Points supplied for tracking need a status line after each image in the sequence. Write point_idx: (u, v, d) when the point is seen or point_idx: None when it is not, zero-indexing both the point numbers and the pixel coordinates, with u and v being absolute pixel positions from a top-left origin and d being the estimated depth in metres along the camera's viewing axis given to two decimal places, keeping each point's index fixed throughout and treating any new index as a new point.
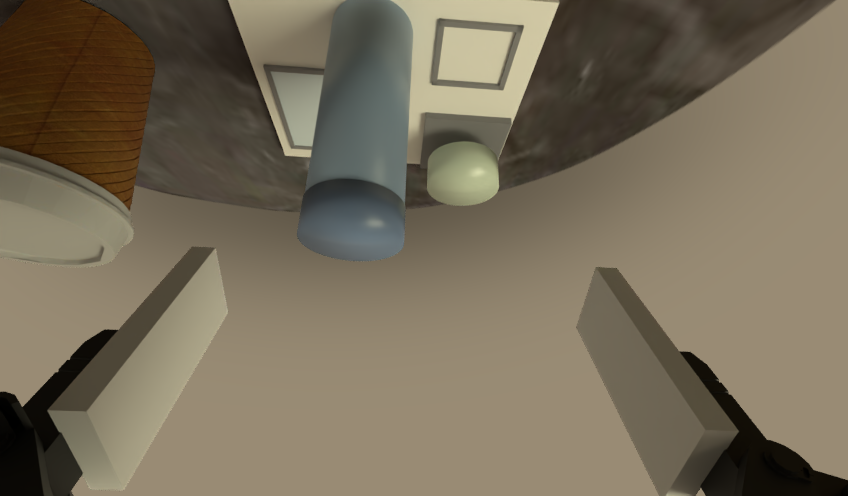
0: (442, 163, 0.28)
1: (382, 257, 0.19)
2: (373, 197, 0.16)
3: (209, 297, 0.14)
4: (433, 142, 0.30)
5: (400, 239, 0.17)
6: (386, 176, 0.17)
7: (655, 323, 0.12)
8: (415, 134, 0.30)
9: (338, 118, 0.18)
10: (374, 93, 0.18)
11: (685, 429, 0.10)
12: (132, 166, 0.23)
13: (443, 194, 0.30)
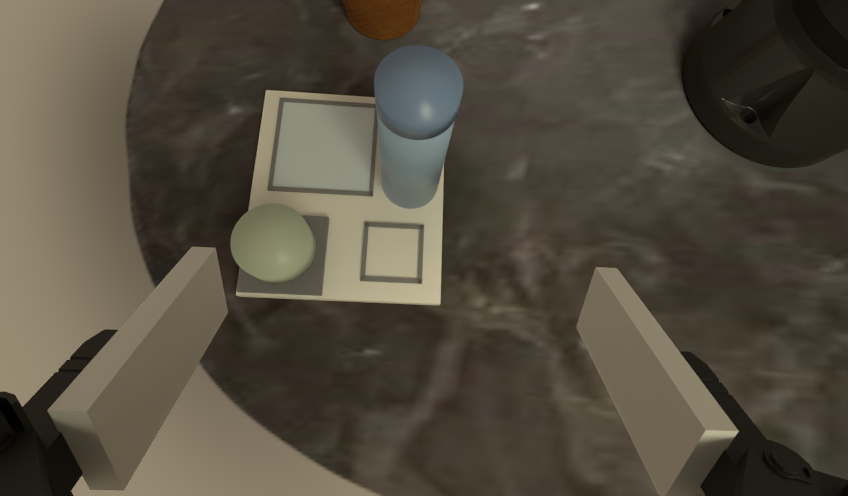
0: None
1: (385, 104, 0.20)
2: (456, 113, 0.22)
3: (209, 297, 0.14)
4: None
5: (425, 121, 0.20)
6: (446, 132, 0.23)
7: (655, 323, 0.12)
8: (297, 210, 0.31)
9: None
10: None
11: (685, 429, 0.10)
12: None
13: (257, 220, 0.27)
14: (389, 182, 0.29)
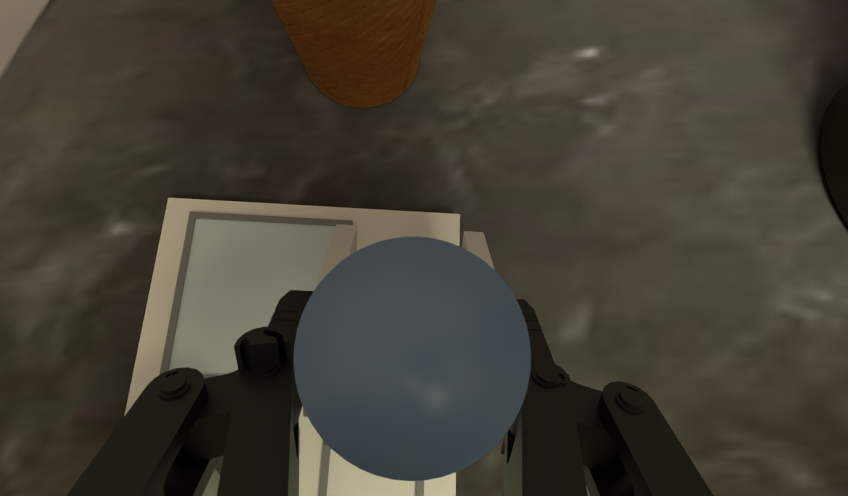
0: None
1: (323, 421, 0.07)
2: None
3: None
4: None
5: (432, 471, 0.07)
6: None
7: None
8: None
9: None
10: None
11: None
12: (316, 11, 0.16)
13: None
14: None
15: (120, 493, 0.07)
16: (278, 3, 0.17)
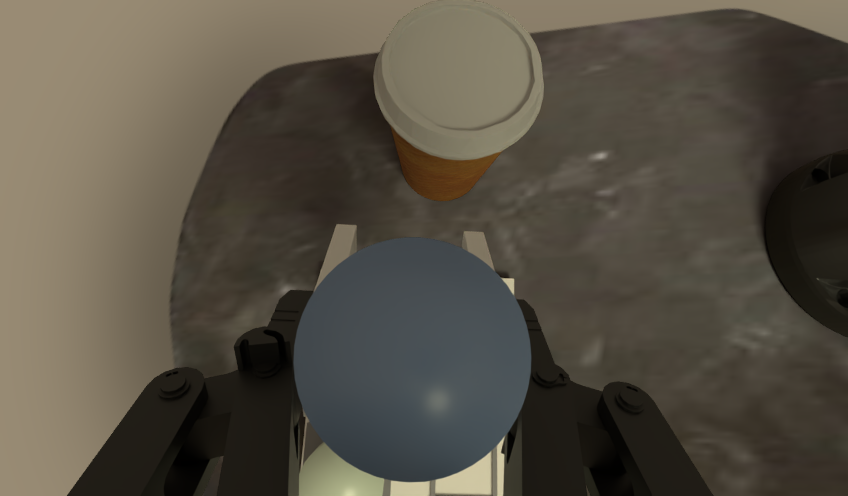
0: None
1: (323, 422, 0.07)
2: None
3: None
4: None
5: (432, 473, 0.07)
6: None
7: None
8: None
9: None
10: None
11: None
12: (436, 168, 0.26)
13: (324, 462, 0.24)
14: None
15: (120, 493, 0.07)
16: (408, 157, 0.27)
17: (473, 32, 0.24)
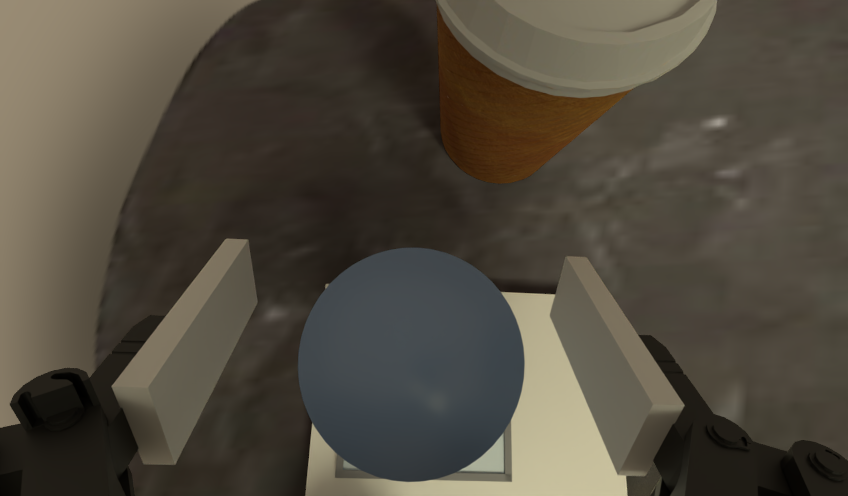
0: None
1: (327, 425, 0.08)
2: None
3: (243, 287, 0.15)
4: None
5: (430, 473, 0.08)
6: None
7: (617, 308, 0.13)
8: None
9: None
10: None
11: (636, 405, 0.10)
12: (519, 121, 0.16)
13: None
14: None
15: None
16: (468, 106, 0.17)
17: None
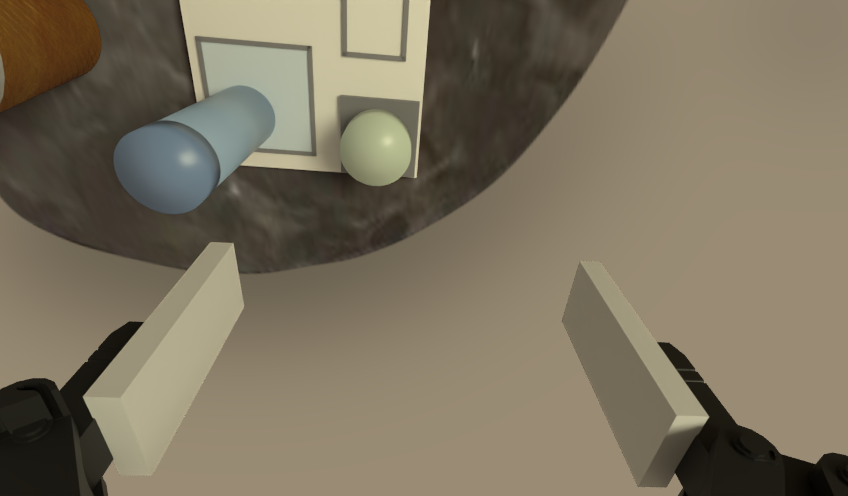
0: (352, 121, 0.28)
1: (193, 204, 0.22)
2: (182, 129, 0.21)
3: (227, 291, 0.14)
4: None
5: (202, 168, 0.21)
6: (202, 130, 0.22)
7: (634, 314, 0.13)
8: (334, 126, 0.32)
9: None
10: (216, 105, 0.25)
11: (658, 415, 0.10)
12: (31, 59, 0.23)
13: (357, 165, 0.29)
14: None
15: None
16: (35, 88, 0.25)
17: None
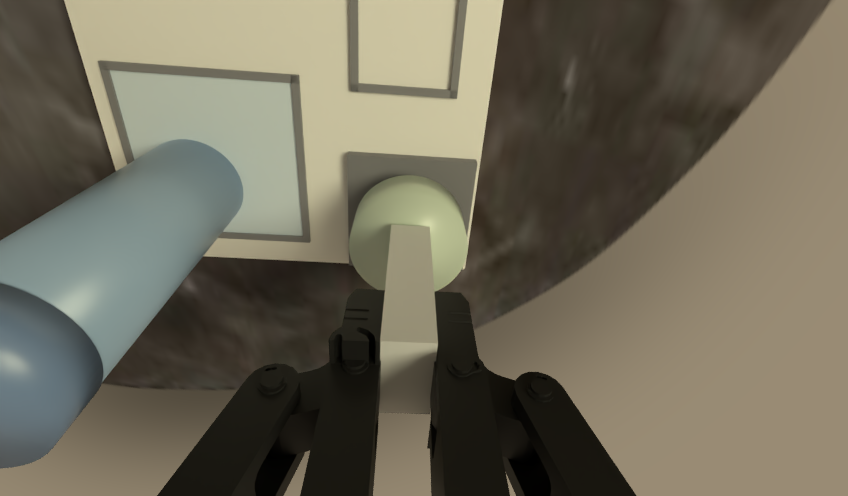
0: (371, 199, 0.17)
1: (35, 453, 0.10)
2: None
3: None
4: None
5: (38, 396, 0.09)
6: (56, 285, 0.10)
7: (430, 267, 0.14)
8: (337, 199, 0.20)
9: (35, 220, 0.12)
10: (116, 200, 0.13)
11: None
12: None
13: (378, 268, 0.18)
14: None
15: (218, 482, 0.08)
16: None
17: None
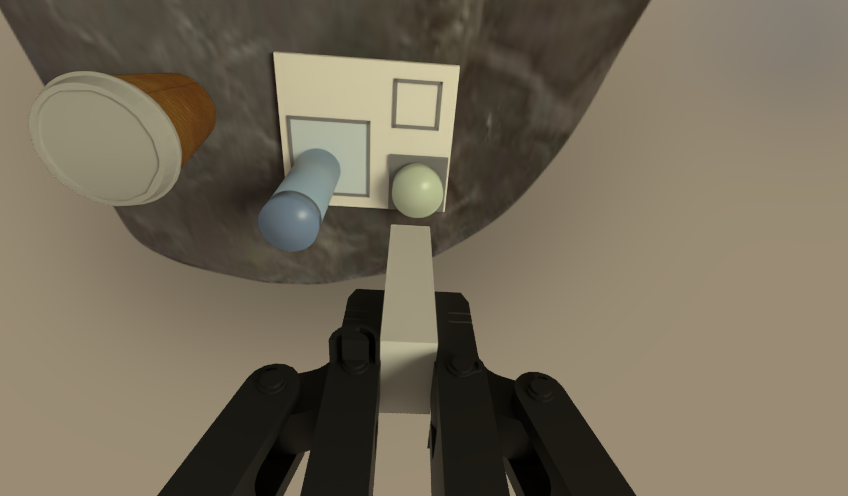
0: (401, 173, 0.40)
1: (306, 245, 0.32)
2: (301, 197, 0.32)
3: None
4: None
5: (315, 222, 0.32)
6: (310, 195, 0.33)
7: (429, 267, 0.14)
8: (383, 176, 0.43)
9: (290, 177, 0.35)
10: (311, 171, 0.36)
11: None
12: (189, 145, 0.34)
13: (404, 203, 0.41)
14: None
15: (218, 482, 0.08)
16: None
17: (61, 136, 0.29)
